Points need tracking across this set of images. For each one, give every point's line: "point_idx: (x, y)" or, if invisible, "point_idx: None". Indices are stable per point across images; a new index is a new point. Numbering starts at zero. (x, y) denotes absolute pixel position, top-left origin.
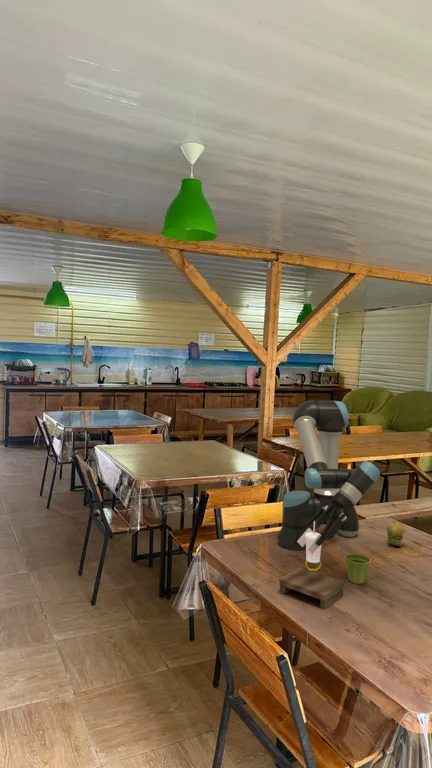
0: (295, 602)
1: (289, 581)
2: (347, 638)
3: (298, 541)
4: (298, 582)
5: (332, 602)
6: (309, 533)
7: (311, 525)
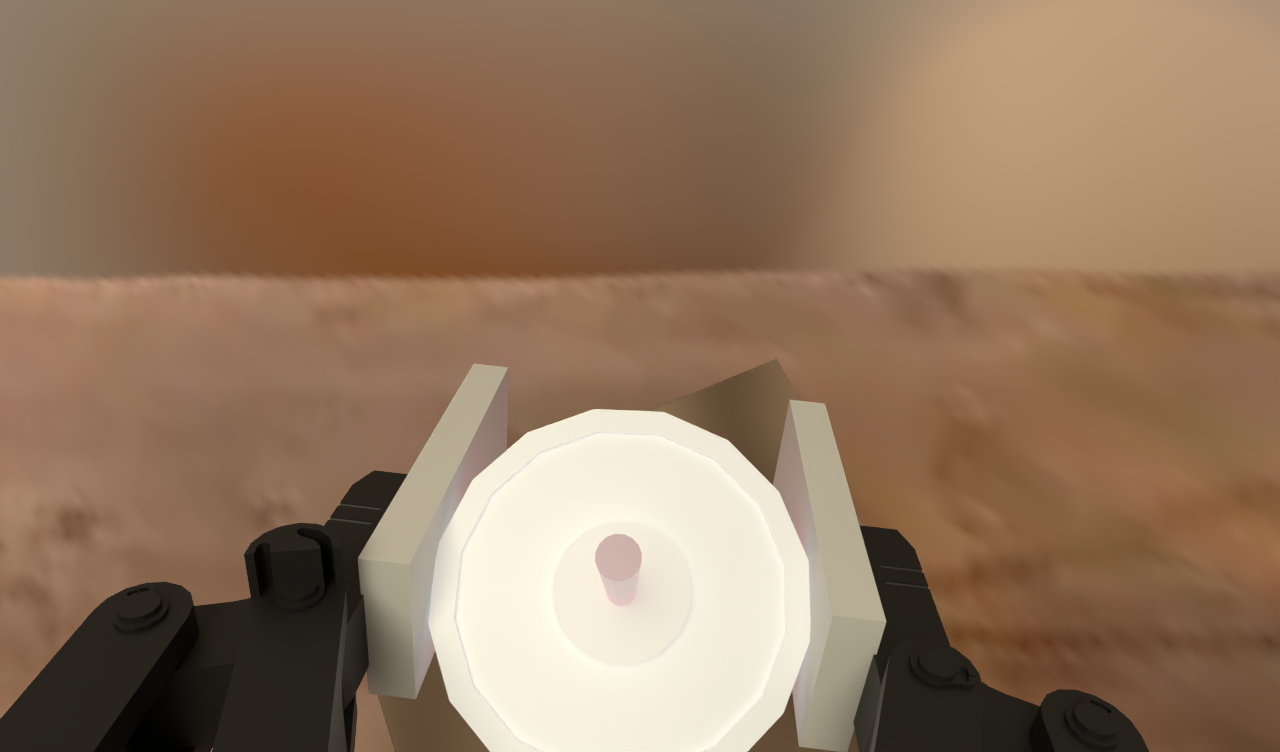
0: None
1: (699, 411)
2: (6, 450)
3: (794, 407)
4: None
5: None
6: (768, 583)
7: (892, 699)
